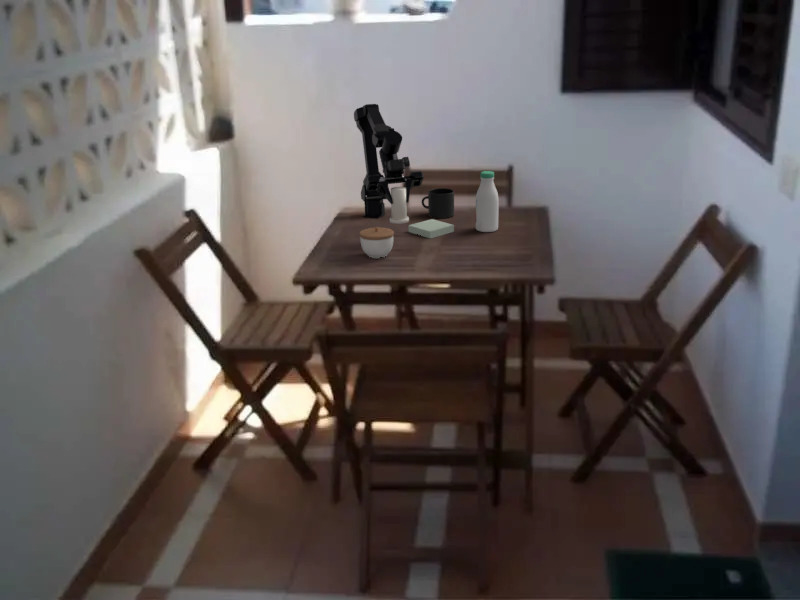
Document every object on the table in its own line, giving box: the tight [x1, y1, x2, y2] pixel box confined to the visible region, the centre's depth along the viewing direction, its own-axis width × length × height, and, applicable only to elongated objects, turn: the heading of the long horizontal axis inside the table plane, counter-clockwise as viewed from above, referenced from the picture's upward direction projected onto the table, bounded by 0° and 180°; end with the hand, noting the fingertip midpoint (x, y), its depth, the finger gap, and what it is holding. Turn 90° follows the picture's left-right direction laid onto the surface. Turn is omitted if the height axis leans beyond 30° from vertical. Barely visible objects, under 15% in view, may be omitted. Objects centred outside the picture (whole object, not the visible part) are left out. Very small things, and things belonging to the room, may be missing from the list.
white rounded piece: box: [389, 186, 410, 225], centre depth 285 cm, size 6×6×11 cm
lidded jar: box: [359, 226, 395, 259], centre depth 274 cm, size 11×11×9 cm
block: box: [408, 218, 455, 239], centre depth 298 cm, size 11×11×2 cm
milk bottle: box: [475, 170, 499, 233], centre depth 296 cm, size 8×8×20 cm
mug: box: [421, 187, 455, 219], centre depth 317 cm, size 9×12×9 cm
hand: (399, 202), depth 284 cm, fingers closed on white rounded piece, 5 cm apart
